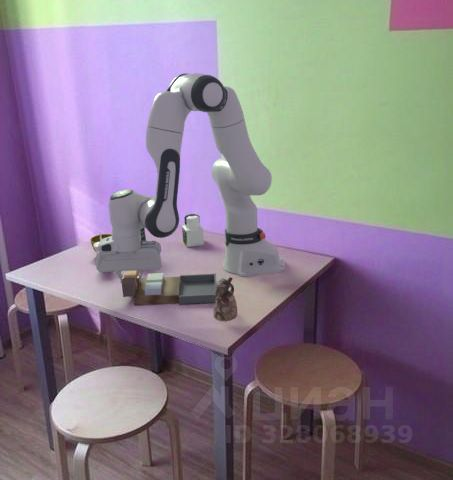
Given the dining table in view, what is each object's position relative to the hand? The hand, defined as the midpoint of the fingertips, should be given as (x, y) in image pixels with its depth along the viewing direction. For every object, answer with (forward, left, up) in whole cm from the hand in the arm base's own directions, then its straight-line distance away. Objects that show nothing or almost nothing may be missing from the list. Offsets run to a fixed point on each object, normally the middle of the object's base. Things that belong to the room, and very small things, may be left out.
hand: (131, 282), depth 167 cm
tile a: (-7, -3, -2) cm, 8 cm away
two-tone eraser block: (0, 0, -2) cm, 2 cm away
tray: (-21, 0, -5) cm, 22 cm away
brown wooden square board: (-8, 0, -5) cm, 10 cm away
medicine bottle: (-19, -46, -5) cm, 50 cm away
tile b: (-7, +4, -2) cm, 8 cm away
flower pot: (+15, -37, -5) cm, 40 cm away
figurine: (-29, +16, -5) cm, 34 cm away
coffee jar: (+3, -34, -5) cm, 34 cm away
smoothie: (+13, -24, -5) cm, 27 cm away
